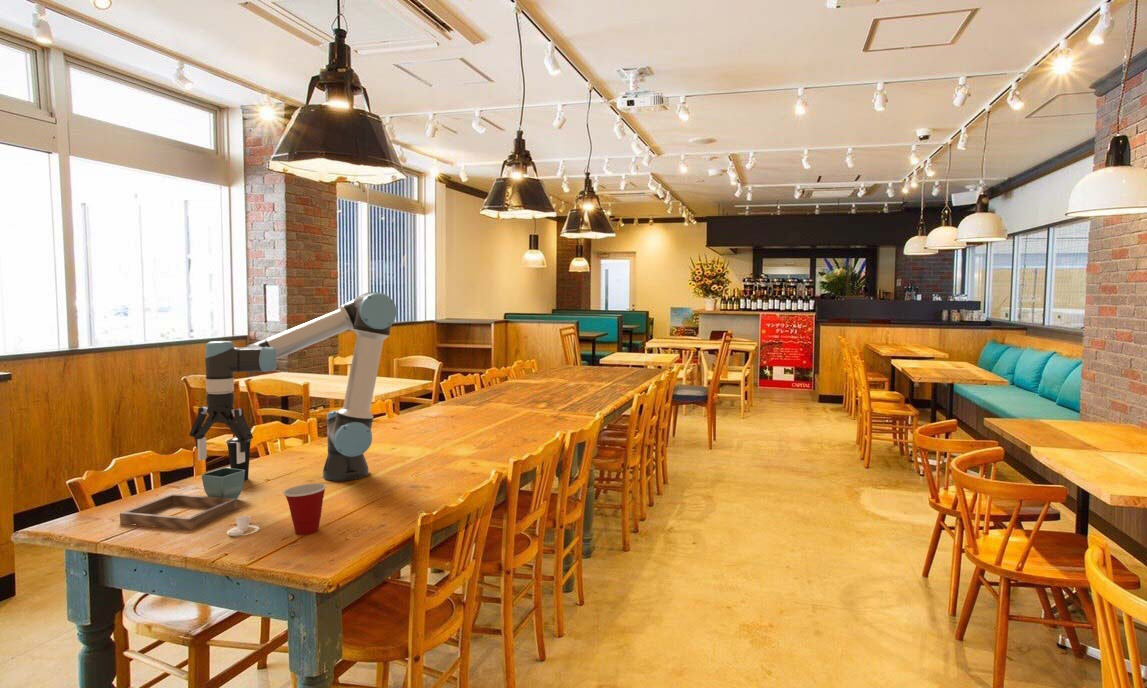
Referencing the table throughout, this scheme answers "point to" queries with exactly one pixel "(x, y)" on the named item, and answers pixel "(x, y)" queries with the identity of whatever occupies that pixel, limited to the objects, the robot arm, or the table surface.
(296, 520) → the plastic cup
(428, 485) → the table surface
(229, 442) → the drinking cup
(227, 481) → the flower pot
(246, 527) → the teacup and saucer
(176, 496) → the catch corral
